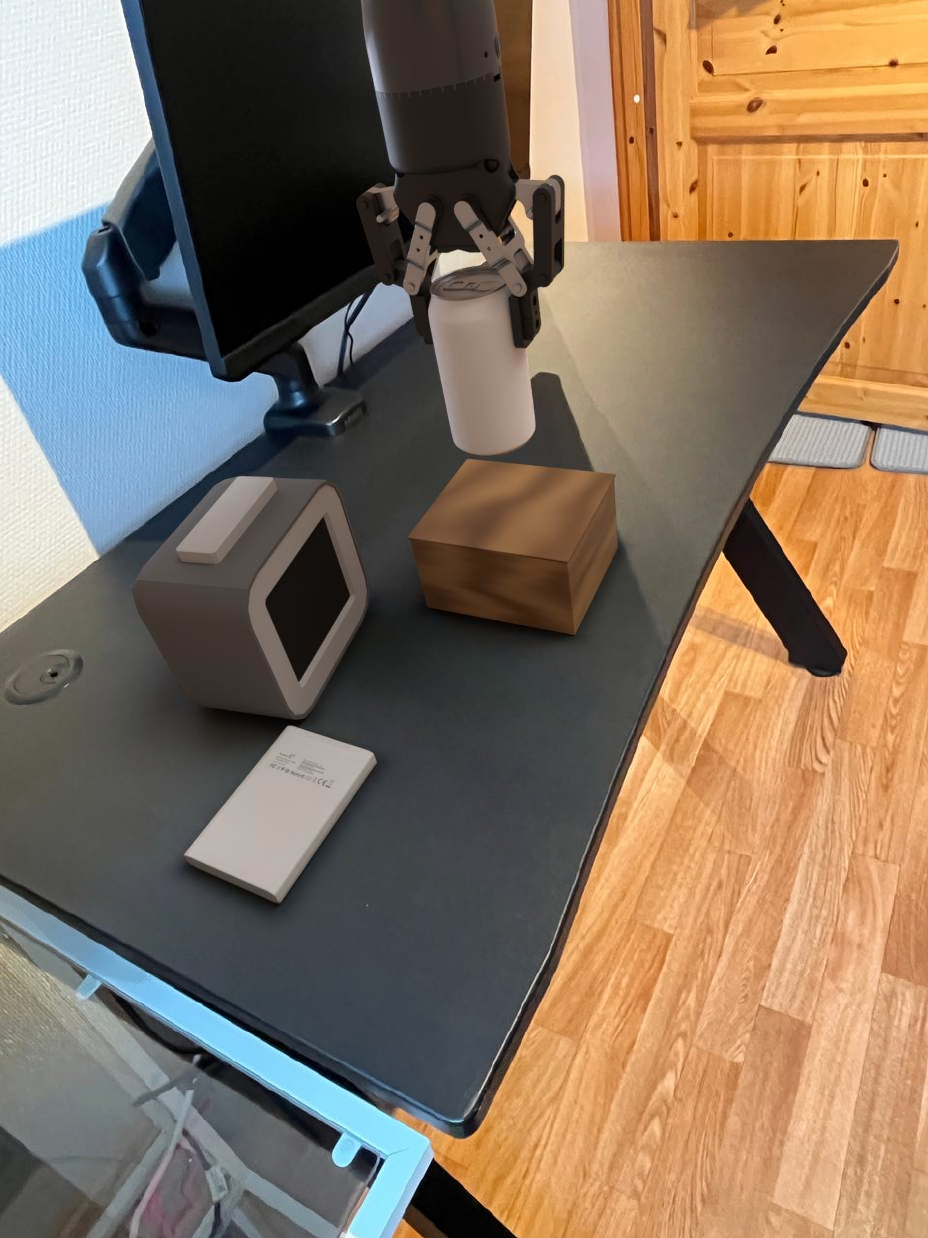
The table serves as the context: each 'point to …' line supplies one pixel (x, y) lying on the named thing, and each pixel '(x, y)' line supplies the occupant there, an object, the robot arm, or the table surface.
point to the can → (480, 362)
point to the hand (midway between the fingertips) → (479, 340)
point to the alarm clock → (257, 595)
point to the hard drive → (281, 813)
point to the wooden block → (518, 543)
